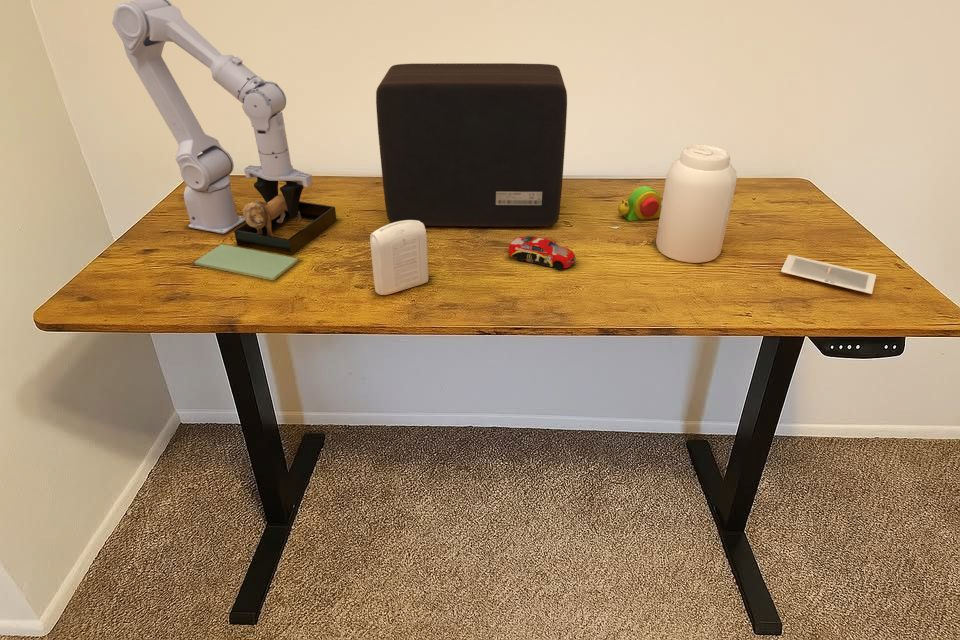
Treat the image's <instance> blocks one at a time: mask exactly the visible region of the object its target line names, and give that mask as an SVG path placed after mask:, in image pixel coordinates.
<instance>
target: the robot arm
mask: <svg viewBox="0 0 960 640" xmlns="http://www.w3.org/2000/svg"><path fill="white" fill-rule="evenodd" d="M113 11H114V12H113V17H112V22H111V24H112V26H113V28H114V29H115V31H116V33H117V34H118V36H119V38H120V39H121V41H122V45H123V47H124V50H125V55H126V57H127V60H128V61H129V63H130V64H131V66H132V67H133V69H134V71H135V72H136V74H137V77H139V80H140V81H141V83H142V85H143V86H144V88H145V90H146V91H147V93H148V95H149V96H150V99H151V100H152V102H153V103H154V105H155V107H156V108H157V110H158V112H159V114H160V115H161V117H162V119H163V121H164V122H165V124H166V125H167V127H168V129H169V130H170V132H171V134H172V136H173V138H174V139H175V141H176V143H177V144H178V148H177V151H176V155H175V158H174V159H175V161H176V163H177V165H178V167H179V171H180V176H181V178H182V180H183V182H184V183H185V184H186V186H185V188H184V191H183V201H184V204H185V208H186V211H187V214H188V219H189V222H190V223H189V224H188V225H187V226H188V228H190V229H195V230H200V231H205V232H212V233H217V234H223V235H224V234H226V233H228V232H231V231H232V230H233V229H236V227H239V225H242V224H243V223H244V222H246V220H245V218H244V217H243V215H238V211H237V207H236V203H235V198H234V195H233V190H232V186H231V182H230V181H231V180H232V177H231V174H232V172H233V171H234V168H235V167H234V160H233V157H232V156H231V154H230V153H229V151H226V150H225V148H224V147H223V146H222V145H221V144H220V142H219V140H218V139H217V138H216V137H213V136H210V135H209V134H206V133H205V131H204V129H203V127H202V126H201V123H199V120H198V119H197V117H196V115H195V113H194V111H193V110H192V108H191V106H190V104H189V103H188V101H187V99H186V97H185V96H184V94H183V92H182V90H181V88H180V87H179V85H178V83H177V82H176V80H175V78H174V76H173V74H172V73H171V71H170V69H169V67H168V65H167V63H166V62H165V60H164V58H163V57H162V56H163V55H162V54H163V52H164V51H163V50H164V47H165V44H166V42H168V43H174V44H175V45H177V46H178V47H179V48H180V49H182V50H183V51H185V52H186V53H187V54H189V55H190V56H192V57H193V58H194V59H195V60H197V61H198V62H200V63H201V64H202V65H204V66H205V67H207V68H208V69H210V73H211V77H212V80H213V81H214V82H215V83H217V84H218V85H219V86H220V87H222V88H223V89H224V90H225V91H226V92H228V93H229V94H230V95H232V97H234V98H235V99H236V100H237V101H239V102H240V103H241V107H242V110H243V113H244V114H245V116H247V118H248V119H249V120H250V124H251V127H252V128H253V132H254V137H255V143H256V147H257V152H258V158H259V163H260V165H250V164H249V165H248V166H246V167H244V168H243V171H244V175H245V176H244V177H245V178H246V179H251V178H256V182H254V183H253V187H254V189H255V190H256V191H257V192H258V193H259V194H260V195H261V197H262V198H263V200H264V203H267V202H269V201H271V200H272V199H273V198H274V197H276V196H277V195H279V191H280V193H281V194H283V196H284V198H285V201H286V204H287V209H288V214H289V216H290V218H292V219H294V218H296V217H295V216H296V215H298V209H299V201H301V196H302V193H303V191H304V188H308V187H310V186H311V185H313V184H314V182H313V176H312V174H311V173H307V172H304V171H301V170H298V169H295V168H294V167H293V165H292V161H291V155H290V150H289V143H288V138H287V132H286V126H285V119H284V114H283V112H282V111H284V109H285V108H286V105H287V96H286V94H285V91H284V90H283V89H282V87H280V86H279V84H278V83H277V82H274V81H272V80H270V81H269V80H268V81H267V80H265V79H263V78H262V77H261V76H259V75H257V74H256V73H255V72H253V71H252V70H251V69H250V68H249V67H248V66H246V65H245V64H244V63H243V62H244V61H243V59H241V58H240V57H239V56H234V55H233V54H222V53H221V52H220V51H219V50H218V49H217V48H216V47H215V46H214V45H213V44H212V43H210V41H208V40H207V39H206V38H205V37H204V36H203V35H202V34H201V33H200V32H199V31H198V30H197V29H196V28H195V27H193V25H191V24H190V23H189V22H188V21H187V20H186V19H185V18H184V16H183V14H182V11H181V9H180V8H179V7H177V6H176V5H174V4H172V2H171V1H170V0H130V1H121V2H118V4H117V5H116V6H115V8H114V10H113ZM279 182H282V183H285V184H283V185H281V186H280V187H279Z"/></svg>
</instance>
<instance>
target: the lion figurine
mask: <svg viewBox="0 0 960 640" xmlns="http://www.w3.org/2000/svg"><path fill="white" fill-rule="evenodd" d="M243 206H244V207H243V208H242V216H243V217H244V218H245V220H246V221H245V223H246V222H247V224H248V225H249V226H251V227H254V228H256V229H257V231H258V233H257V234H262V228H263V227H264V226H265V227H266V229H267V235H268V236H273V237H274V233H273V232H272V227H271V226H272V225H271V220H273V219H275V218H276V217H278V216H279V215H281V217H280V219H278V220H277V221H276V222H277V223H282V222H283V219H284V217H285V215H286V214H285V211H287V212H288V209H287V204H286V201H285V198H284V196H283V194H282V193H281V194H278V195H277V196H276V197H274V198H273V199H272V200H271V201H269V202H267V203H266V202H263V201H260V200H259V201H255V200H253V201H249V202H247V203H246V204H244V205H243ZM302 219H303V218H301V215H300V212H299V210H298V215H297V217H295V222H297V223H300V222H302Z"/></svg>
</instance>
